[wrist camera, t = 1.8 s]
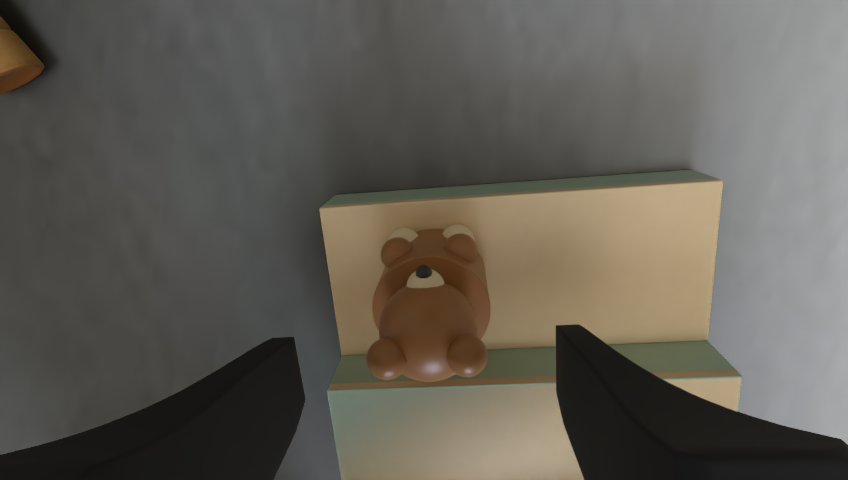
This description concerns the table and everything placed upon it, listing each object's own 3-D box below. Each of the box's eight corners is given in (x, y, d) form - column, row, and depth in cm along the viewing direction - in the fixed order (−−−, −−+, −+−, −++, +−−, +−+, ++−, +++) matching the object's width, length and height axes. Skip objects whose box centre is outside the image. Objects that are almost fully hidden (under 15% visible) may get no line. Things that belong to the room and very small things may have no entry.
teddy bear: (390, 324, 20) (362, 425, 14) (379, 224, 19) (342, 288, 13) (488, 319, 20) (501, 421, 14) (482, 217, 19) (494, 280, 12)
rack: (370, 449, 25) (342, 567, 19) (334, 194, 21) (283, 238, 15) (671, 442, 24) (745, 567, 18) (692, 169, 20) (797, 206, 14)
